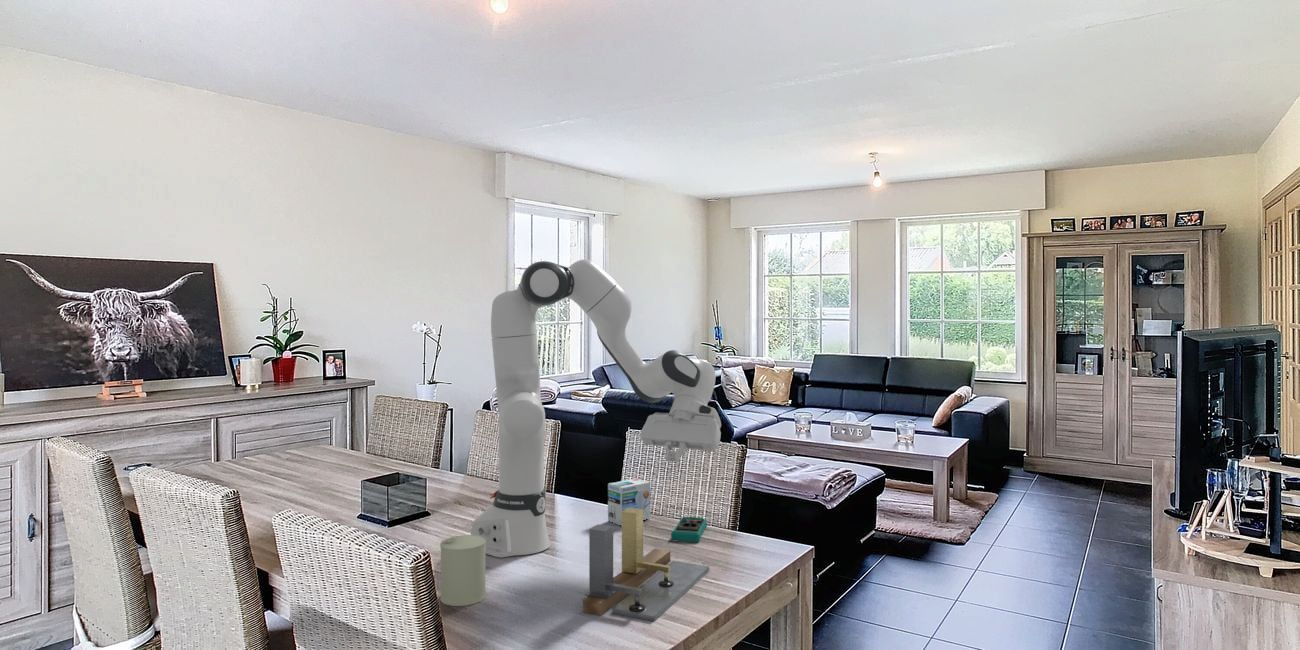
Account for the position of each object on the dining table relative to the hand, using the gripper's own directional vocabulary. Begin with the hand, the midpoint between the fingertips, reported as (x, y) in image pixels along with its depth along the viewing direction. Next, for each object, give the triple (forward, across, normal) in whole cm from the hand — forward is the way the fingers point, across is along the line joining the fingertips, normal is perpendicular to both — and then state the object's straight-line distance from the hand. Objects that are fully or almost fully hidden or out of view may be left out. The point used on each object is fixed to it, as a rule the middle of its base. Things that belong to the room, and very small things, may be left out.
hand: (671, 460), depth 178 cm
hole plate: (+32, +8, +1) cm, 33 cm away
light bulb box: (+2, -22, +31) cm, 38 cm away
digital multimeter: (+4, -2, +29) cm, 29 cm away
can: (+47, -28, -14) cm, 56 cm away
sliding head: (+30, +4, 0) cm, 30 cm away
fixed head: (+40, +3, -10) cm, 41 cm away
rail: (+32, 0, +1) cm, 32 cm away
